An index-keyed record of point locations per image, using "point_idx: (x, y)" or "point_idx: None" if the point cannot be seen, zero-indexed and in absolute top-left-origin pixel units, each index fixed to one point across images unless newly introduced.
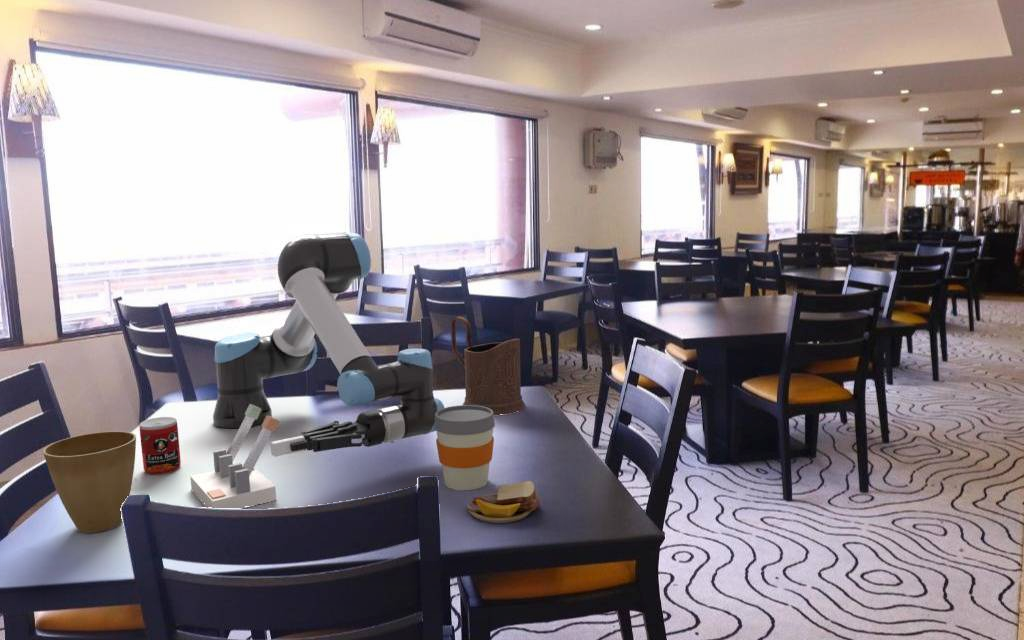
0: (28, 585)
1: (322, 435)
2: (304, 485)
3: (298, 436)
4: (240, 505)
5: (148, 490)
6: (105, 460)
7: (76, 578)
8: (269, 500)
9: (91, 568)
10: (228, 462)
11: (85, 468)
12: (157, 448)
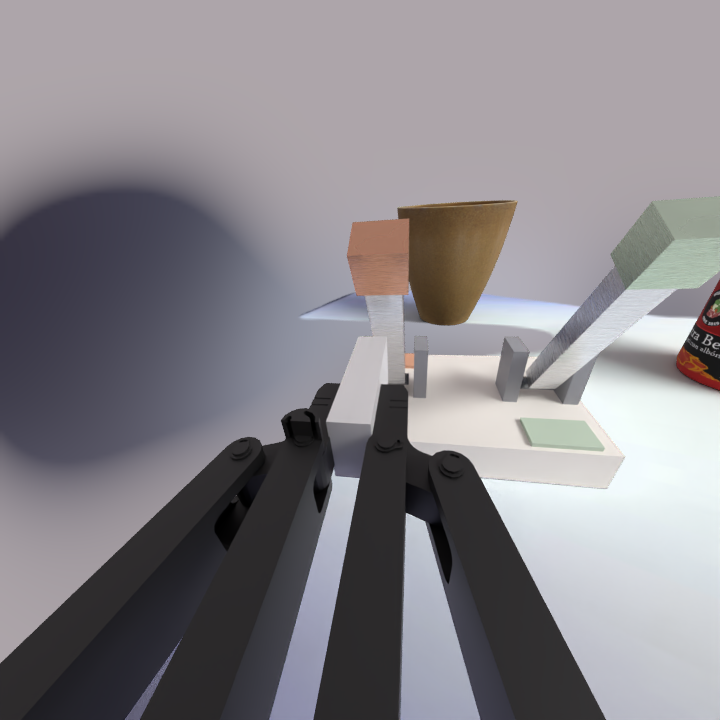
0: (348, 295)
1: (253, 526)
2: (406, 596)
3: (369, 407)
4: None
5: None
6: None
7: (330, 305)
8: None
9: (339, 310)
10: (506, 362)
11: None
12: (705, 312)
